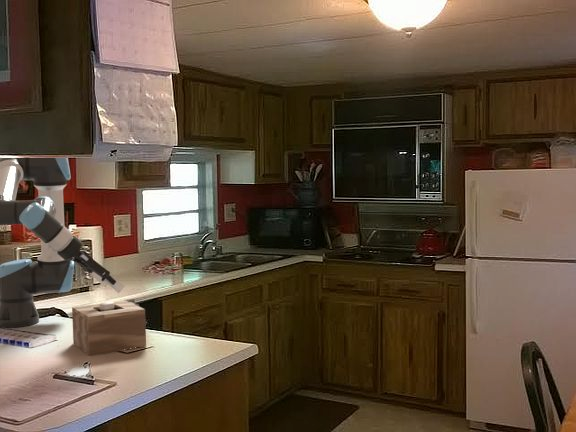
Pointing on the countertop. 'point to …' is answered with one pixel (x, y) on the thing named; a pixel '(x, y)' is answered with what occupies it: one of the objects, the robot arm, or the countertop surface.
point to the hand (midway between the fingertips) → (114, 286)
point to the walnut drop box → (108, 328)
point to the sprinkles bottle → (106, 306)
